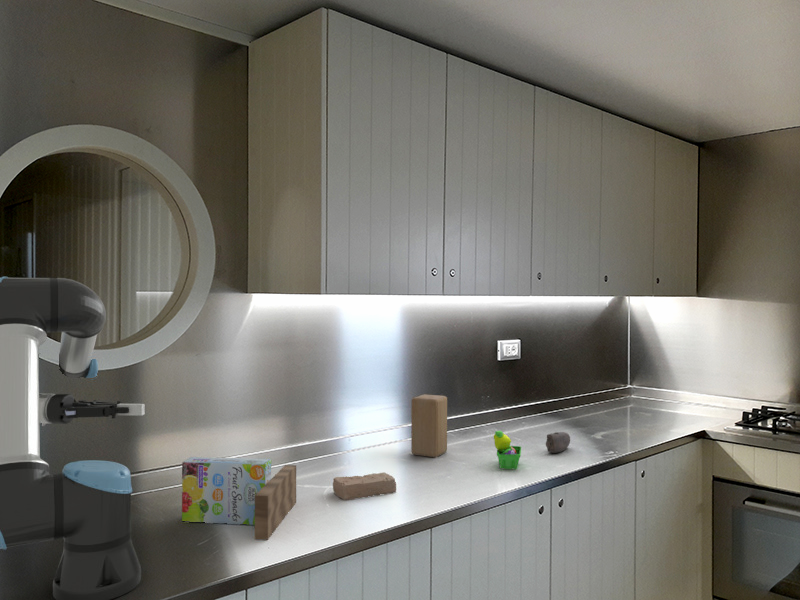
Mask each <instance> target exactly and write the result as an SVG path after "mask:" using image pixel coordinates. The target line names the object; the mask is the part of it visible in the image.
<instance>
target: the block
mask: <svg viewBox="0 0 800 600" xmlns="http://www.w3.org/2000/svg"><path fill="white" fill-rule="evenodd" d="M410 411H411V414H410V415H411V420H410V421H411V426H410V428H411V429H410V430H411V435H410V437H411V442H410V443H411V450H410V451H411V452H410V453H411V455H414V456H419V457H426V458H427V457H428V458H438V457H439V456H441V455H443V454H445V453H447V451H448V397H447V396H446V395H437V394H425V393H424V394H421V395H418V396H415V397H412V398H411V410H410Z"/></svg>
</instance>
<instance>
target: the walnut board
mask: <svg viewBox="0 0 800 600" xmlns="http://www.w3.org/2000/svg"><path fill="white" fill-rule="evenodd" d="M295 503H296V504H297V465H295V464H294V465H293V464H292V465H291V464H285V465H284V466H283V467H282V468H280V470H279V471H277V472H276V474H275V475H274V476H273V477H271V480H270V481H269V482H268V483H267V484H266V485H265V486H264V487H263V488H262V489H261V490H260V491H259V492H258V493H257V494H256V495H255V525H254V540H255V539H266V540H265V541H268V540H269V539H270V538H271V537H272V535H273V534H274V532H275V531H276V530H277V529H278V528H279V526H280V525H281V524H282V522H283V521H284V520H285V518H286V517H285V516H287V515H288V514H289V513H290V511H291V510H292V509H293V507H294V506H295V505H296V504H295ZM288 512H289V513H288ZM282 520H283V521H282ZM279 524H280V525H279ZM276 528H277V529H276ZM272 533H273V534H272ZM269 537H270V538H269Z"/></svg>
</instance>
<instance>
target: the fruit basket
mask: <svg viewBox="0 0 800 600" xmlns="http://www.w3.org/2000/svg"><path fill="white" fill-rule="evenodd" d="M493 440H494V447H495V448H496V457H497V459H498V463H499V467H500V469H501V468H505V470H518V466H519V461H520V458H521V456H522V447H521V446H518V445H511V443H512V440H511V438H510V437H509V436H508V435H507V434H505V433H504V432H503V431H502V430H495V432H494V434H493Z"/></svg>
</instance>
